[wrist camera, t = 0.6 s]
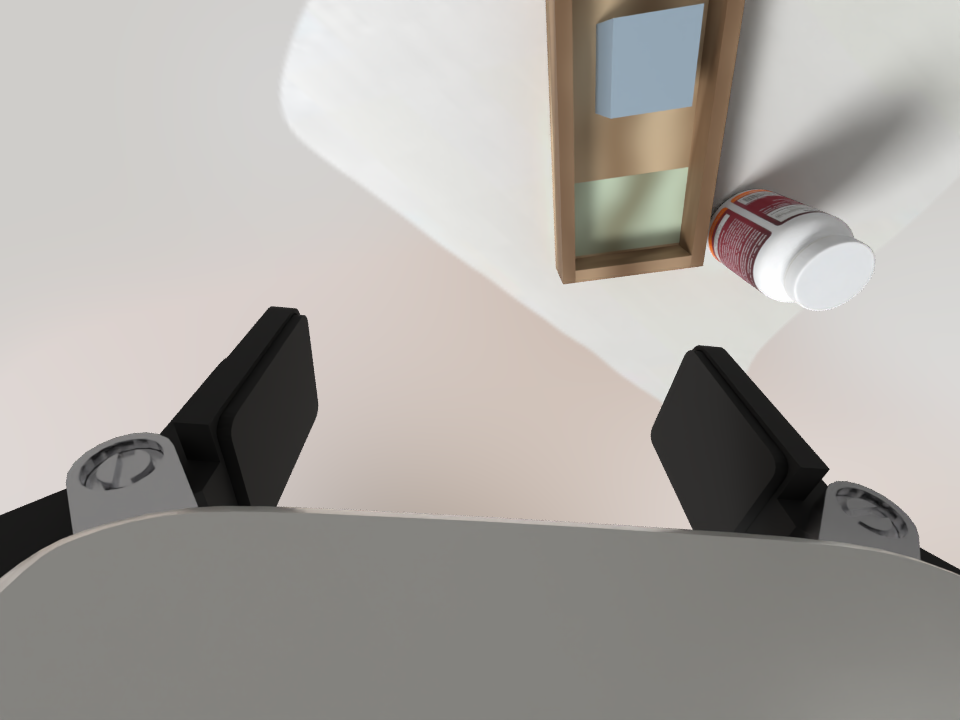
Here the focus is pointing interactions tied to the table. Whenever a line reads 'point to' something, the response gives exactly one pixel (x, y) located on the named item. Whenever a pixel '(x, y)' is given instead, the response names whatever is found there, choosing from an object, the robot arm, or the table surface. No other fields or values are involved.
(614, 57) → the block
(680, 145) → the box
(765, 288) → the pill bottle
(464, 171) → the table surface
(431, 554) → the robot arm
